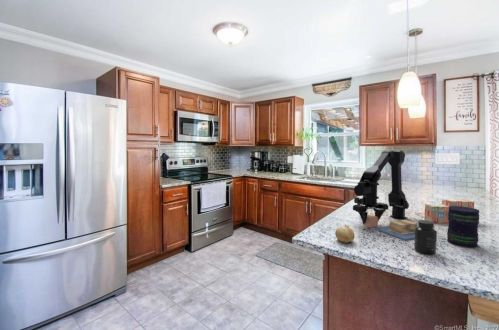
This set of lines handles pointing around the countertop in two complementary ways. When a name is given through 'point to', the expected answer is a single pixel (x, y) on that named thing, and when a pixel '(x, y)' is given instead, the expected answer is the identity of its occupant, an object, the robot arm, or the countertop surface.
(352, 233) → the onion
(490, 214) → the countertop surface
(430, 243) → the supplement bottle
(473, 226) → the storage jar
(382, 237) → the countertop surface
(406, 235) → the board
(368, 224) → the terracotta cube
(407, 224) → the oak brick
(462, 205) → the stack of blocks
